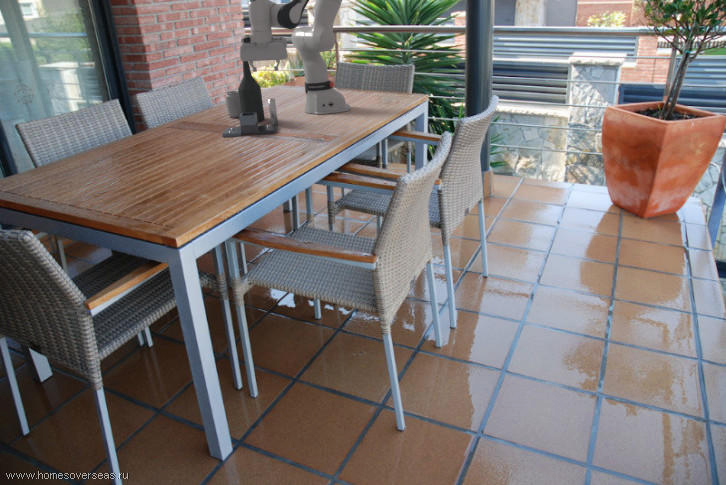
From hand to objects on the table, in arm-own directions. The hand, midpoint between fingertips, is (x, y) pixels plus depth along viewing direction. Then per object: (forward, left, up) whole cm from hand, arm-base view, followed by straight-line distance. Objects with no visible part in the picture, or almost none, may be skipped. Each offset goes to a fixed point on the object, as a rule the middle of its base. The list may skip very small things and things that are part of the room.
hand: (265, 71), depth 249 cm
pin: (-1, +1, -24) cm, 24 cm away
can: (+20, -24, -24) cm, 40 cm away
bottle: (+10, -12, -24) cm, 29 cm away
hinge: (+9, +10, -24) cm, 28 cm away
